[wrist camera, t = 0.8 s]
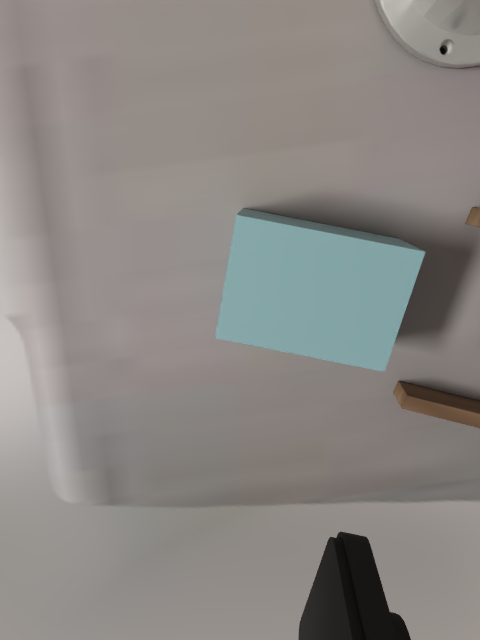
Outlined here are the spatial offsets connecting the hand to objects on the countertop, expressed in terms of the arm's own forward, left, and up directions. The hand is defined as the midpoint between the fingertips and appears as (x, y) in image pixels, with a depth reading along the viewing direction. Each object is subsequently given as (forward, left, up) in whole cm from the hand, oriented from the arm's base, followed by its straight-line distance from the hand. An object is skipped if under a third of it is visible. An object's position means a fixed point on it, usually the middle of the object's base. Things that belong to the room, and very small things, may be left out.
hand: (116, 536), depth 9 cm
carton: (-1, +6, -25) cm, 26 cm away
